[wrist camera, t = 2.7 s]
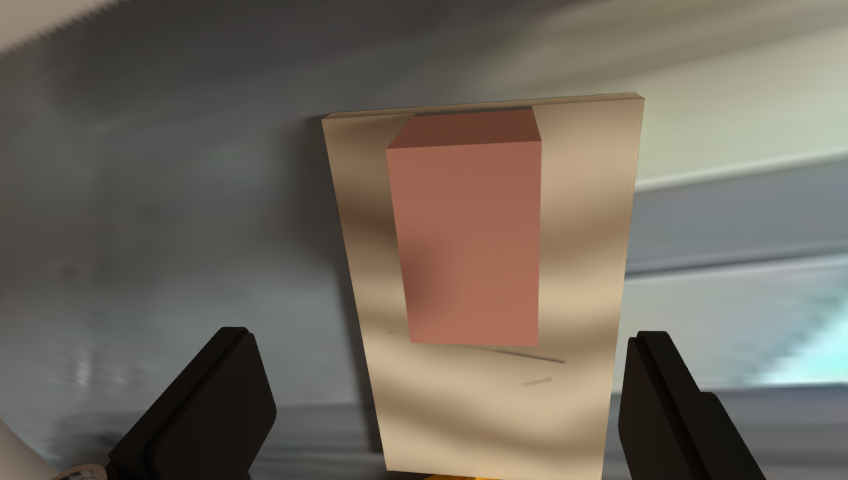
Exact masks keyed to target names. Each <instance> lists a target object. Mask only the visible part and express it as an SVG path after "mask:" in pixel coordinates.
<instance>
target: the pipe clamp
mask: <svg viewBox="0 0 848 480" xmlns="http://www.w3.org/2000/svg"><path fill="white" fill-rule="evenodd" d="M423 480H499V479H492V478H479V477H467V476H454V475H442V474H435V475H433V476H431V477H428V478H426V479H423Z"/></svg>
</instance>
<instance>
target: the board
mask: <svg viewBox="0 0 848 480" xmlns="http://www.w3.org/2000/svg"><path fill="white" fill-rule="evenodd" d="M644 100H645V98H643V97H642V96H640V95H638V94H637V93H622V94H607V95H592V96H577V97H562V98H547V99H533V100H518V101H503V102H488V103H473V104H459V105H444V106H429V107H414V108H399V109H385V110H370V111H355V112H340V113H331V114H330V115H328V116H326V117H325V118H323V119H321V120H322V126H323V131H324V136H325V142H326V147H327V152H328V158H329V163H330V168H331V174H332V179H333V184H334V190H335V195H336V200H337V206H338V211H339V216H340V222H341V227H342V232H343V238H344V243H345V248H346V254H347V259H348V264H349V270H350V275H351V280H352V286H353V291H354V296H355V302H356V307H357V312H358V318H359V323H360V328H361V334H362V339H363V344H364V350H365V355H366V360H367V366H368V371H369V376H370V382H371V387H372V392H373V398H374V403H375V408H376V414H377V419H378V424H379V430H380V435H381V440H382V446H383V451H384V456H385V462H386V467H387V470H392V471H404V472H417V473H429V474H442V475H454V476H467V477H479V478H492V479H504V480H601V475H602V467H603V458H604V449H605V440H606V432H607V423H608V414H609V405H610V397H611V388H612V379H613V371H614V362H615V353H616V344H617V336H618V327H619V318H620V309H621V301H622V292H623V283H624V274H625V266H626V257H627V248H628V239H629V231H630V222H631V213H632V204H633V196H634V187H635V178H636V170H637V161H638V152H639V143H640V135H641V126H642V117H643V108H644ZM519 106H532V109H533V112H534V116H535V119H536V123H537V126H538V130H539V133H540V137H541V140H542V156H541V205H540V254H539V303H538V346H505V345H469V344H433V343H411V340H410V333H409V325H408V317H407V310H406V302H405V294H404V287H403V279H402V271H401V264H400V256H399V248H398V241H397V233H396V225H395V218H394V210H393V202H392V195H391V187H390V180H389V172H388V164H387V157H386V148H387V147H388V146H389V144H390V143H391V142H392V141H393V140H394V139H395V137H396V136H397V135H398V134H399V133H400V132H401V131H402V129H403V128H404V127H405V126H406V125H407V124H408V122H409V121H410V120H411V119H412V118H413V117H414V116H415V114H416V113H427V112H443V111H458V110H473V109H489V108H504V107H519Z"/></svg>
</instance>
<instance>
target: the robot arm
mask: <svg viewBox="0 0 848 480" xmlns="http://www.w3.org/2000/svg"><path fill="white" fill-rule="evenodd" d="M276 414H277V410H276V405H275V402H274V399H273V396H272V392H271V389H270V386H269V383H268V379H267V376H266V373H265V369H264V366H263V363H262V360H261V356H260V353H259V350H258V346H257V343H256V340H255V337H254V335H253V334H252V333H249V331H248V330H247V329H246V328H245V327H222V328H221V329H219V330H218V331H217V333H216V334H215V335H214V336H213V337H212V338H211V339H210V340H209V342H208V343H207V344H206V345H205V346H204V347H203V348H202V350H201V351H200V352H199V353H198V354H197V355H196V356H195V357H194V359H193V360H192V361H191V362H190V363H189V364H188V365H187V366H186V368H185V369H184V370H183V371H182V372H181V373H180V374H179V375H178V377H177V378H176V379H175V380H174V381H173V382H172V383H171V384H170V386H169V387H168V388H167V389H166V390H165V391H164V392H163V393H162V395H161V396H160V397H159V398H158V399H157V400H156V401H155V402H154V404H153V405H152V406H151V407H150V408H149V409H148V410H147V412H146V413H145V414H144V415H143V416H142V417H141V418H140V419H139V421H138V422H137V423H136V424H135V425H134V426H133V427H132V428H131V430H130V431H129V432H128V433H127V434H126V435H125V436H124V437H123V439H122V440H121V441H120V442H119V443H118V444H117V445H116V446H115V448H114V449H113V450H112V451H111V452H110V453H109V454H108V456H109V458H110V460H111V461H110V463H109V464H108V465H107V466H106V467H105V468H103V467H102V466H101V465H97V464H85V465H80V466H77V467H74V468H71V469H68V470H66V471H64V472H62V473H61V474H59V475H57V476H55V477H54V478H52V479H51V480H243V479H244V477H245V475H246V473H247V472H248V470H249V468H250V466H251V464H252V462H253V461H254V459H255V457H256V455H257V453H258V452H259V450H260V448H261V446H262V444H263V442H264V441H265V439H266V437H267V435H268V433H269V431H270V430H271V428H272V426H273V424H274V422H275V419H276ZM618 429H619V436H620V440H621V444H622V447H623V450H624V454H625V457H626V460H627V464H628V467H629V470H630V474H631V477H632V480H766V478H765V477H764V475H763V473H762V472H761V470H760V468H759V466H758V465H757V463H756V461H755V460H754V458H753V456H752V455H751V453H750V451H749V450H748V448H747V446H746V444H745V443H744V441H743V439H742V438H741V436H740V434H739V433H738V431H737V429H736V427H735V426H734V424H733V422H732V421H731V419H730V417H729V416H728V414H727V412H726V411H725V409H724V407H723V405H722V404H721V402H720V400H719V399H718V398H717V396H716V395H715V394H713V393H712V392H700V390H699V388H698V386H697V385H696V383H695V381H694V379H693V377H692V376H691V374H690V372H689V370H688V368H687V367H686V365H685V363H684V361H683V359H682V357H681V356H680V354H679V352H678V350H677V348H676V347H675V345H674V343H673V341H672V339H671V338H670V336H669V334H668V333H667V332H666V331H639V332H638V334H637V337H630V338H629V341H628V347H627V356H626V364H625V372H624V380H623V388H622V396H621V404H620V412H619V420H618Z"/></svg>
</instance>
